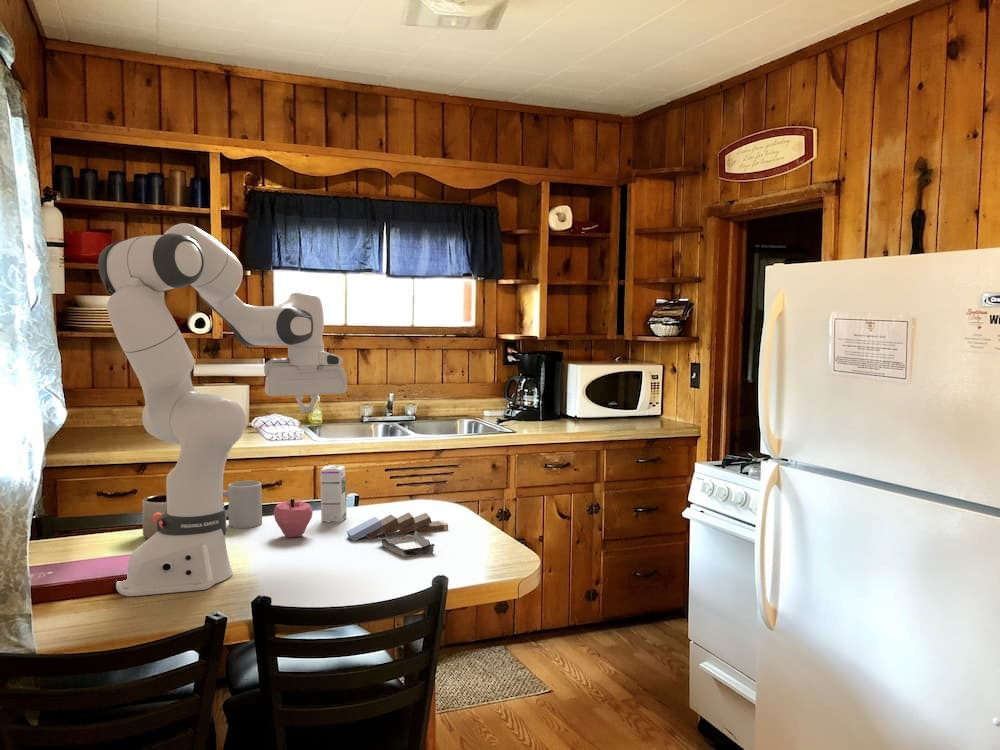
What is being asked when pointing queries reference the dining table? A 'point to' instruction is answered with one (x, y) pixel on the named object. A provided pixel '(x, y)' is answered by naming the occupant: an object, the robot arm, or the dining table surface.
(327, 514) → the syrup box
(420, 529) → the domino
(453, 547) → the dining table surface
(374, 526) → the domino
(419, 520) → the domino
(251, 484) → the mug
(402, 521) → the domino
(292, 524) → the apple
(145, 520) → the planter
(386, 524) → the domino
